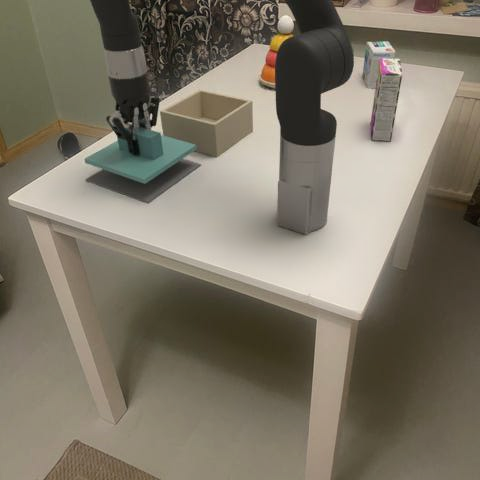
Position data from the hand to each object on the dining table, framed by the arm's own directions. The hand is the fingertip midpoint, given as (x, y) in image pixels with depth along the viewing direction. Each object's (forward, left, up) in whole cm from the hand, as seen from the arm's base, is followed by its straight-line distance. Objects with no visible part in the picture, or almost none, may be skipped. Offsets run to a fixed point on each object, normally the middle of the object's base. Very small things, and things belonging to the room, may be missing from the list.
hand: (141, 150), depth 101 cm
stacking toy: (+64, 0, -6) cm, 64 cm away
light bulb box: (+78, -25, -6) cm, 82 cm away
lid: (0, 0, -1) cm, 1 cm away
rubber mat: (0, 0, -5) cm, 5 cm away
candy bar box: (+45, -38, -6) cm, 59 cm away
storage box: (+22, -2, -5) cm, 22 cm away
